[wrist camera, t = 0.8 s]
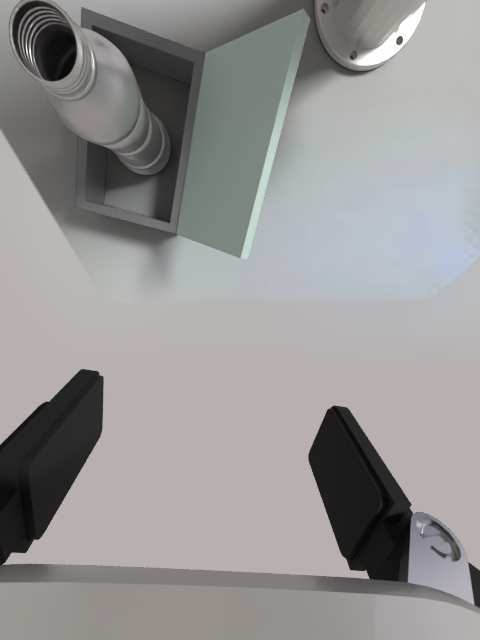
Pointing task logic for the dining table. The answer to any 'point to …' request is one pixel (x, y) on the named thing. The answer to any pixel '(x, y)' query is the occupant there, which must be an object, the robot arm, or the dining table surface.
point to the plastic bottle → (88, 85)
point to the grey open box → (158, 59)
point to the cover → (239, 133)
